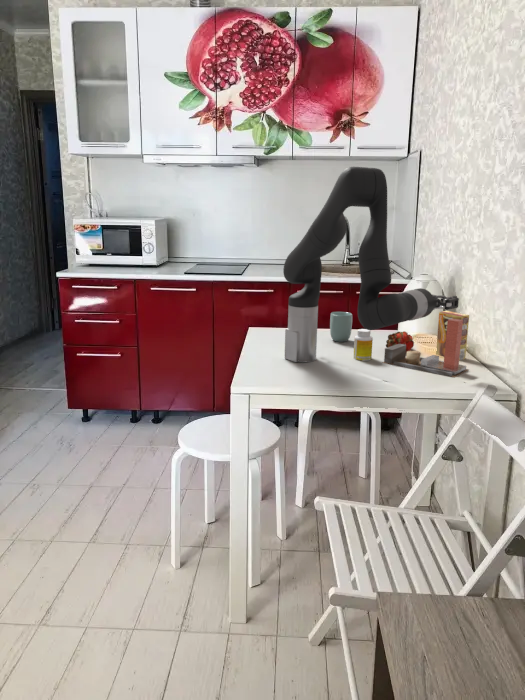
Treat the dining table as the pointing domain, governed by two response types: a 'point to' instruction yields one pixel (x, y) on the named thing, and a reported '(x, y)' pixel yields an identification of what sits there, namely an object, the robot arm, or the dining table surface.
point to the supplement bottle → (363, 345)
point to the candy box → (442, 331)
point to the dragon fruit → (400, 340)
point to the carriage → (448, 350)
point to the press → (397, 358)
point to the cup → (340, 326)
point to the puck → (413, 357)
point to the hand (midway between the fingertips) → (440, 298)
